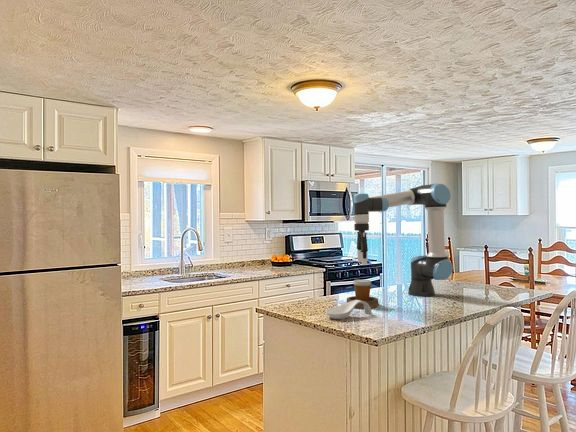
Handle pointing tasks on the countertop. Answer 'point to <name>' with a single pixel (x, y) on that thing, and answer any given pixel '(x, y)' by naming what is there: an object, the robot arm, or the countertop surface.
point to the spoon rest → (346, 309)
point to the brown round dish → (372, 302)
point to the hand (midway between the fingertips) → (362, 263)
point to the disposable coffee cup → (362, 289)
